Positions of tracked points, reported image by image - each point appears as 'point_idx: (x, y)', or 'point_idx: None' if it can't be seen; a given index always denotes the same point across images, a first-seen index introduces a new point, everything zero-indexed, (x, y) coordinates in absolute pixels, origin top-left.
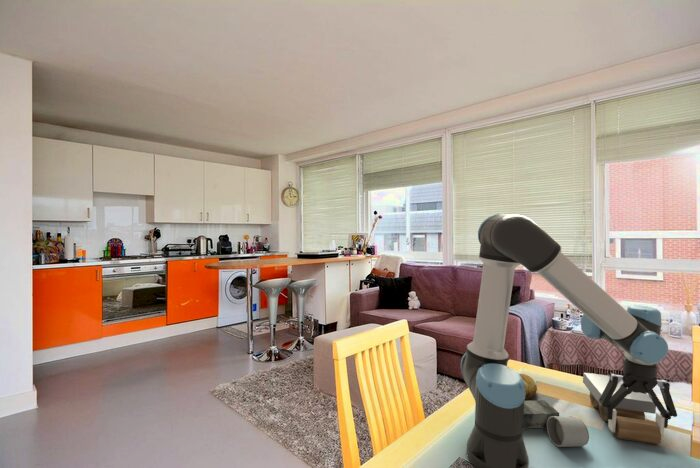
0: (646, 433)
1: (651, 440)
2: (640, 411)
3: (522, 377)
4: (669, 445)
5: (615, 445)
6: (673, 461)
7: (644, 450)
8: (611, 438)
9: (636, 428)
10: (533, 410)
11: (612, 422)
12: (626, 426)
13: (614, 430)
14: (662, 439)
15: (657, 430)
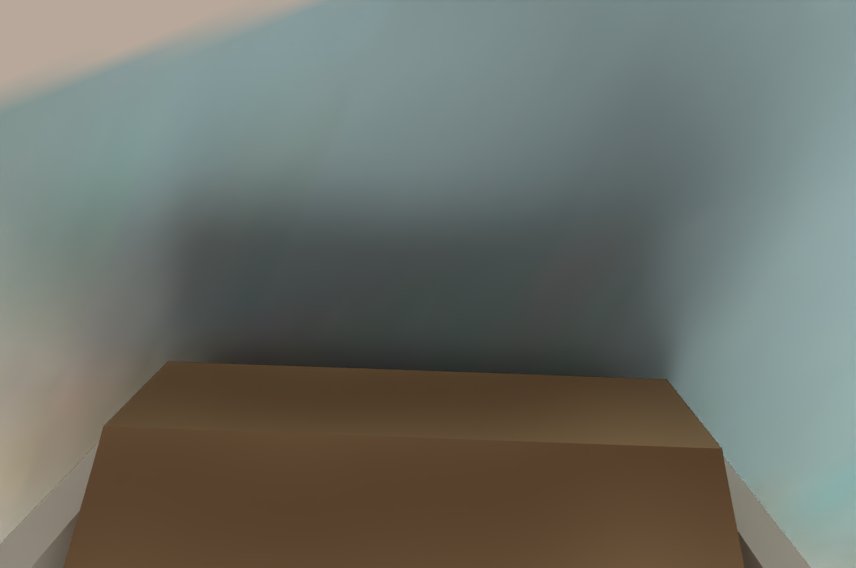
0: (321, 427)
1: (272, 374)
2: None
3: None
4: (72, 408)
5: (745, 243)
6: (153, 71)
7: (417, 228)
8: (702, 382)
9: (456, 487)
10: None
11: (798, 561)
12: (613, 500)
13: None
14: None
15: (122, 499)
